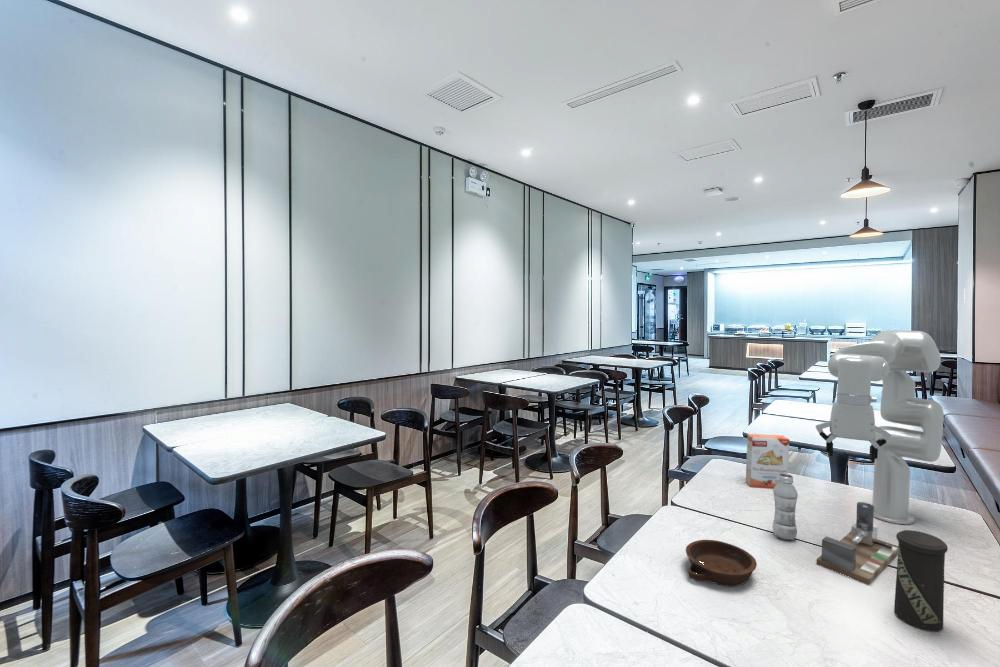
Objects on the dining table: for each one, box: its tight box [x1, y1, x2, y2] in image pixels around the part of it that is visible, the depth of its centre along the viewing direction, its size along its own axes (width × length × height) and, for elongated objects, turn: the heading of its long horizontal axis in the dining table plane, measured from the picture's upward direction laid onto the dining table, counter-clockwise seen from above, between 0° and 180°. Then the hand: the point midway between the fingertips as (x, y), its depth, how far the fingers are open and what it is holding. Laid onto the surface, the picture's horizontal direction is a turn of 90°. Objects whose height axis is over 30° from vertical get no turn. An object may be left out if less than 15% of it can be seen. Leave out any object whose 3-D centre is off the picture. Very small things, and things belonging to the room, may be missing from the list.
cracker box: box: [745, 433, 790, 489], centre depth 184 cm, size 14×6×21 cm, turn 81°
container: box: [893, 529, 949, 632], centre depth 104 cm, size 9×9×20 cm
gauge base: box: [815, 531, 898, 586], centre depth 130 cm, size 28×12×8 cm, turn 125°
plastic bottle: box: [771, 474, 799, 541], centre depth 142 cm, size 6×7×20 cm
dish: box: [685, 539, 757, 587], centre depth 124 cm, size 18×22×5 cm
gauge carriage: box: [850, 501, 892, 549], centre depth 133 cm, size 11×9×11 cm
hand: (850, 457), depth 131 cm, fingers open, 9 cm apart
